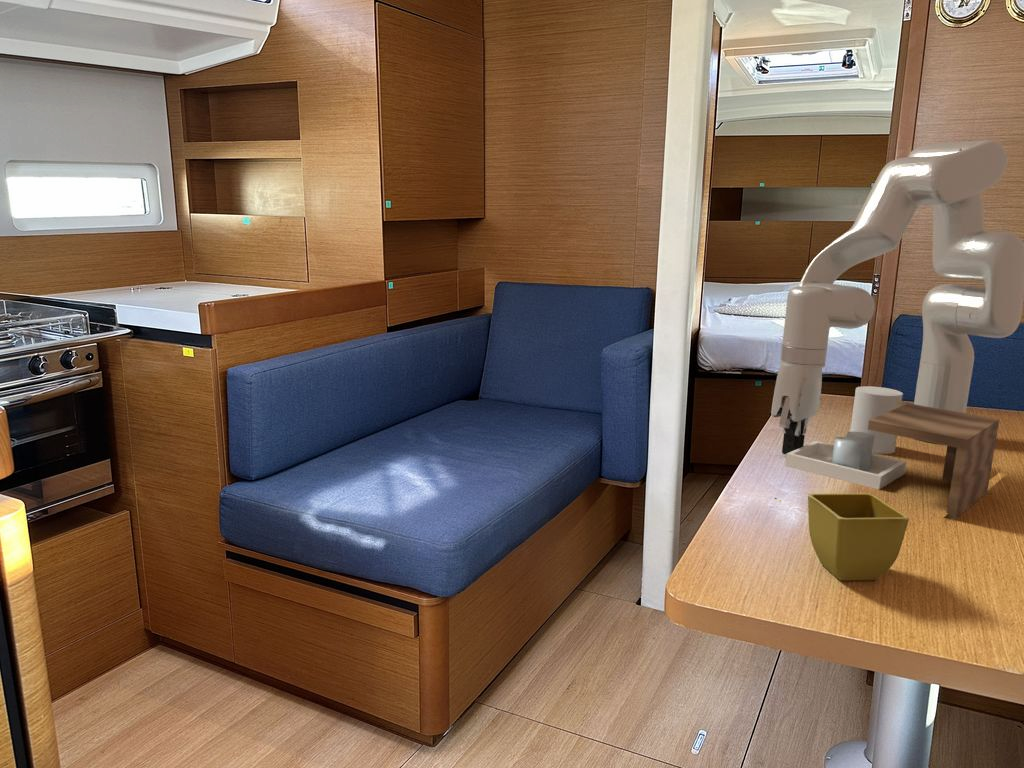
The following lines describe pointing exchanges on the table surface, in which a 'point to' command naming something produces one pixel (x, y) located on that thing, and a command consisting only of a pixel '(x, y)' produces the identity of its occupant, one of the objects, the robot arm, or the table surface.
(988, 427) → the counter
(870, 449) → the grey rounded cylinder
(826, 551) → the flower pot
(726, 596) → the table surface
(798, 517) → the table surface
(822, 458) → the tray
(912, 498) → the table surface
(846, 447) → the blue-grey rounded cylinder
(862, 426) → the white cylinder
